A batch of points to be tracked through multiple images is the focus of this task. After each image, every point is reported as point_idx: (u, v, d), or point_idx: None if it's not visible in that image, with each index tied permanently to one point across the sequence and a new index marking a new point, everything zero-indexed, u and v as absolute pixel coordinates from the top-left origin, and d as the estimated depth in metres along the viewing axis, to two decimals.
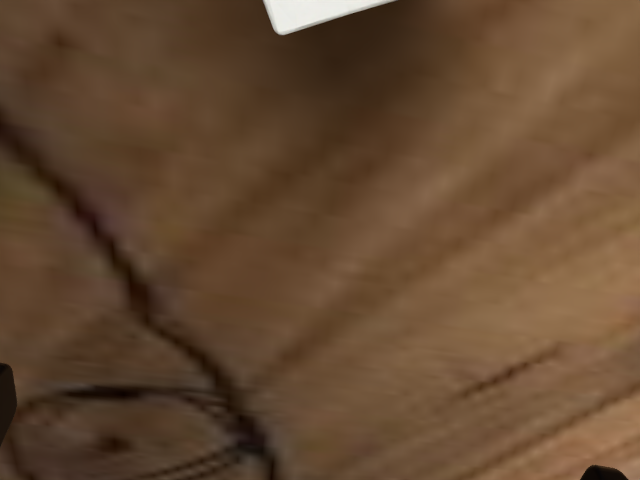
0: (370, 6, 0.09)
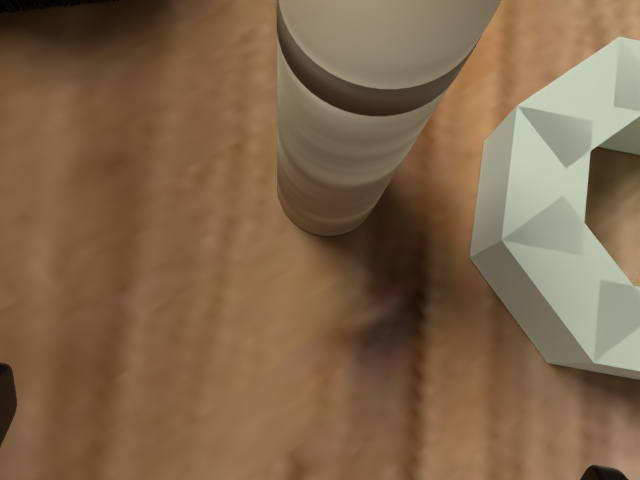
0: None
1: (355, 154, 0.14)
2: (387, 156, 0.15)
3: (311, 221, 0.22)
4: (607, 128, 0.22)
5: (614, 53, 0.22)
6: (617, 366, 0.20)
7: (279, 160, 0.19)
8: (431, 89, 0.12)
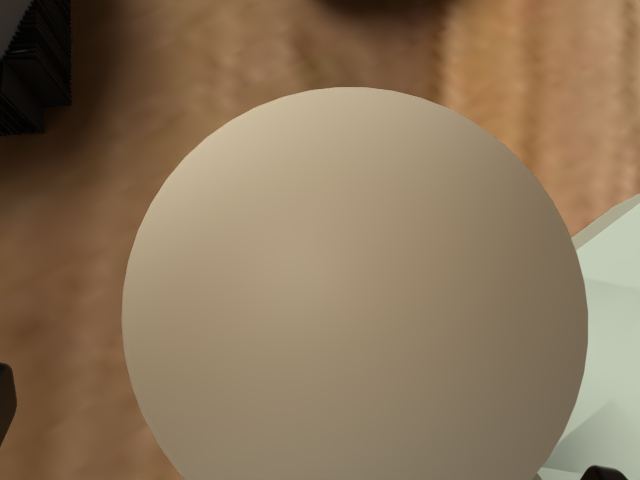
0: None
1: None
2: None
3: None
4: None
5: None
6: None
7: None
8: None
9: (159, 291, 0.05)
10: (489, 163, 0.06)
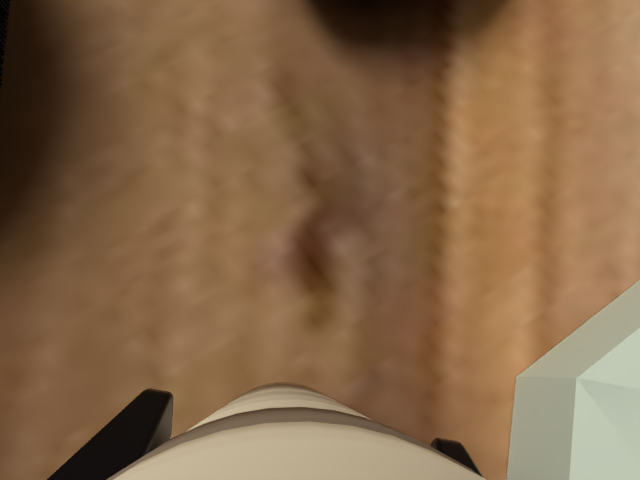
0: None
1: None
2: None
3: None
4: None
5: None
6: None
7: None
8: None
9: None
10: None
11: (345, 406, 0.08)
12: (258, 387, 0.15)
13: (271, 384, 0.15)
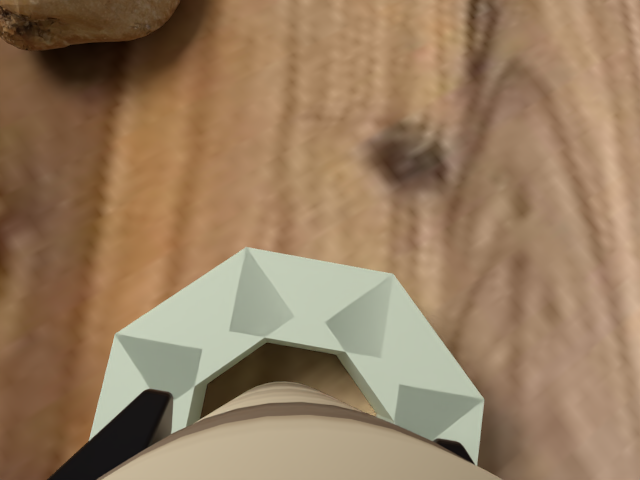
0: None
1: None
2: None
3: None
4: (218, 358, 0.19)
5: (238, 267, 0.20)
6: None
7: None
8: None
9: None
10: None
11: None
12: (258, 386, 0.15)
13: (271, 383, 0.15)
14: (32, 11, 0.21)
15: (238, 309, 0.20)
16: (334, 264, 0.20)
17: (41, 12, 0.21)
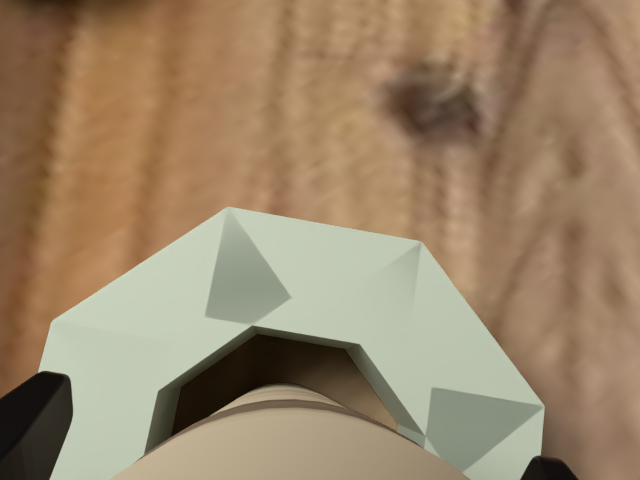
0: None
1: None
2: None
3: None
4: (189, 353, 0.14)
5: (216, 232, 0.15)
6: None
7: None
8: None
9: None
10: None
11: None
12: (260, 387, 0.16)
13: (271, 384, 0.16)
14: None
15: (217, 288, 0.15)
16: (344, 229, 0.15)
17: None
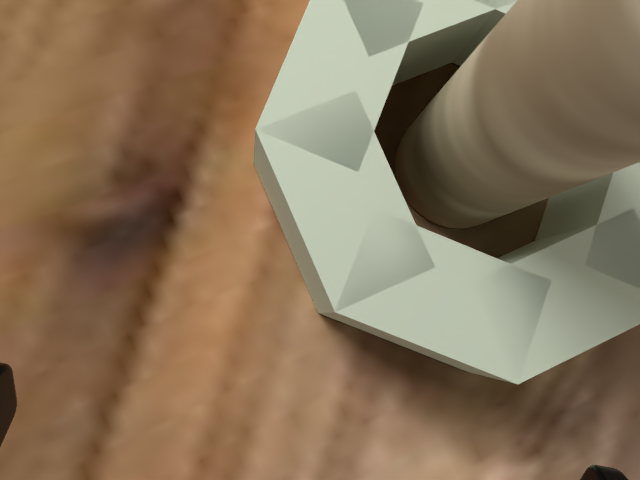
0: None
1: (630, 140, 0.10)
2: None
3: (443, 207, 0.17)
4: (439, 18, 0.16)
5: None
6: (366, 323, 0.15)
7: (442, 123, 0.15)
8: None
9: None
10: None
11: None
12: None
13: None
14: None
15: None
16: None
17: None
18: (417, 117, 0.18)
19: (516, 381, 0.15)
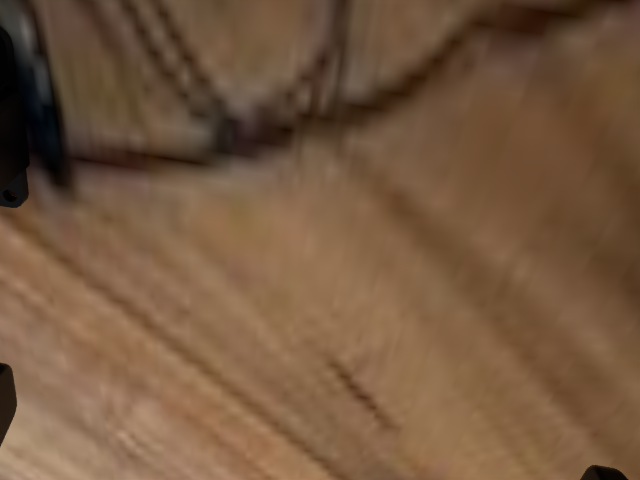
0: None
1: None
2: None
3: None
4: None
5: None
6: None
7: None
8: None
9: None
10: None
11: None
12: None
13: None
14: None
15: None
16: None
17: None
18: None
19: None
